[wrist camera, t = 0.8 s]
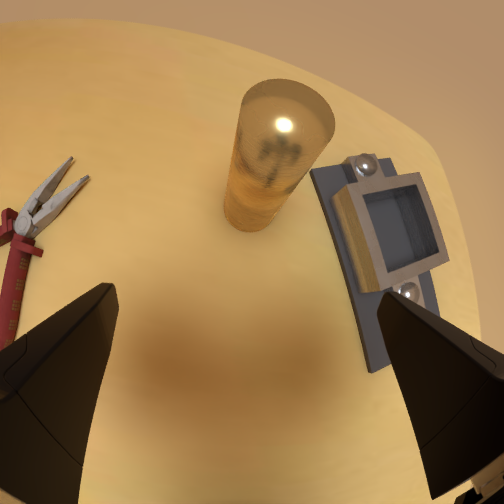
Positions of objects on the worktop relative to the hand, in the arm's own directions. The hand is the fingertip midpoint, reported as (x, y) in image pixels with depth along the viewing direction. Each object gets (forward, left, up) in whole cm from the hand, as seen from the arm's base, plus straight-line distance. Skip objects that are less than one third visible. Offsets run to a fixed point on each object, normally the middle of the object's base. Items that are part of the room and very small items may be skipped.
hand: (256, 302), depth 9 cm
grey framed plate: (0, -14, -12) cm, 19 cm away
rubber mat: (0, -14, -13) cm, 19 cm away
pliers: (+7, +18, -14) cm, 24 cm away
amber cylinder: (+7, -4, -13) cm, 15 cm away
